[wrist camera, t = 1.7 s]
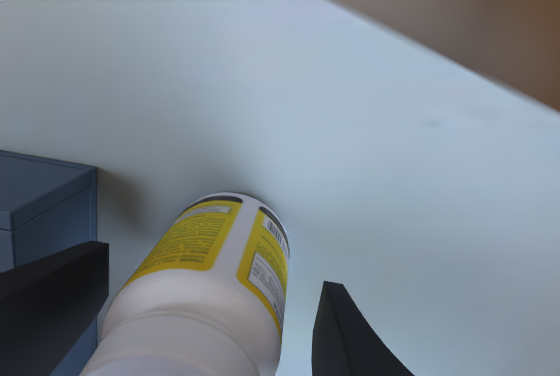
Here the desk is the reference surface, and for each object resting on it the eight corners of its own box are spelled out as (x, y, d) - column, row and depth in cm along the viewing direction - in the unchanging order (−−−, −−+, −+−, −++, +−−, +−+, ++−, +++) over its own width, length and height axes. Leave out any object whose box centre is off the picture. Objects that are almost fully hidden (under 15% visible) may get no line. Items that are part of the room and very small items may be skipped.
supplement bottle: (158, 264, 17) (19, 457, 9) (200, 168, 15) (77, 296, 7) (261, 311, 17) (217, 537, 9) (311, 222, 15) (311, 400, 8)
